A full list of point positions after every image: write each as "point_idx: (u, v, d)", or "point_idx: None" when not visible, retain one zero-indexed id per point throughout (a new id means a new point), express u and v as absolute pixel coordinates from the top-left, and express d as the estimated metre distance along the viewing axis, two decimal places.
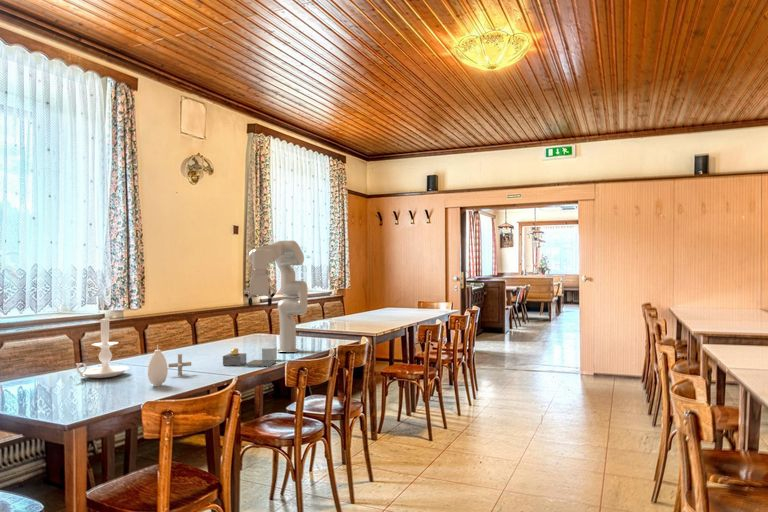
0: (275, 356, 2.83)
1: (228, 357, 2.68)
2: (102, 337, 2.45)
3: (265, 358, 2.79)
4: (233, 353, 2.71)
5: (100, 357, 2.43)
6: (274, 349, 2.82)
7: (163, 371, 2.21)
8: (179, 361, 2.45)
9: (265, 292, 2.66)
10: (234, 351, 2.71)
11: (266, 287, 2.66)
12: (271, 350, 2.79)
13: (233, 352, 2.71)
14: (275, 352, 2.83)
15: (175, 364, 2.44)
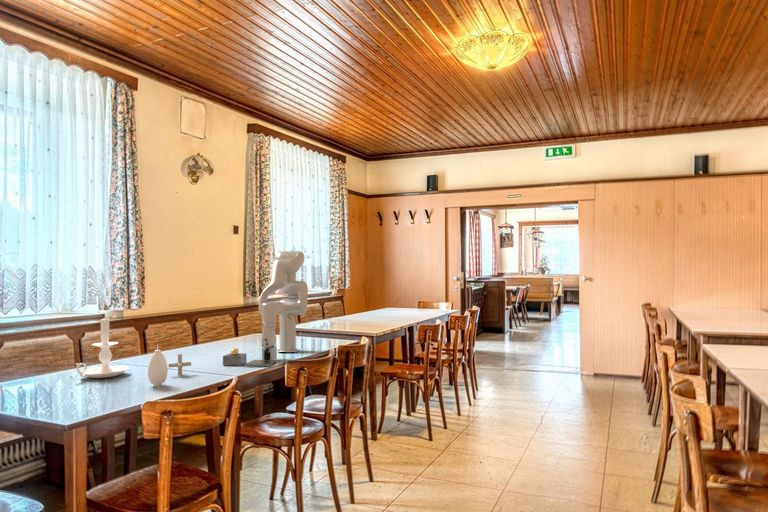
0: (275, 356, 2.83)
1: (228, 357, 2.68)
2: (102, 337, 2.45)
3: None
4: (233, 353, 2.71)
5: (100, 357, 2.43)
6: (274, 349, 2.82)
7: (163, 371, 2.21)
8: (179, 361, 2.45)
9: (275, 342, 2.85)
10: (234, 351, 2.71)
11: (275, 338, 2.86)
12: (271, 350, 2.79)
13: (233, 352, 2.71)
14: (275, 352, 2.83)
15: (175, 364, 2.44)
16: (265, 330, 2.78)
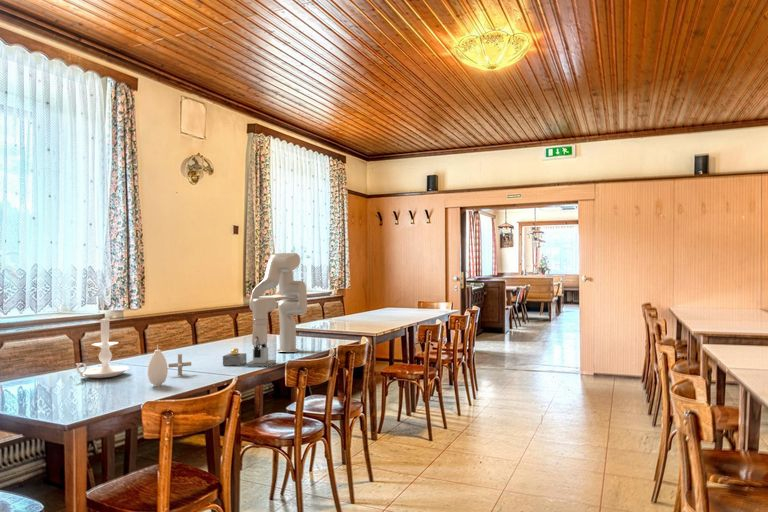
0: (267, 357, 2.71)
1: (228, 357, 2.68)
2: (102, 337, 2.45)
3: (256, 359, 2.67)
4: (233, 353, 2.71)
5: (100, 357, 2.43)
6: (265, 350, 2.69)
7: (163, 371, 2.21)
8: (179, 361, 2.45)
9: (266, 340, 2.73)
10: (234, 351, 2.71)
11: None
12: (262, 351, 2.66)
13: (233, 352, 2.71)
14: (267, 353, 2.70)
15: (175, 364, 2.44)
16: (256, 327, 2.65)
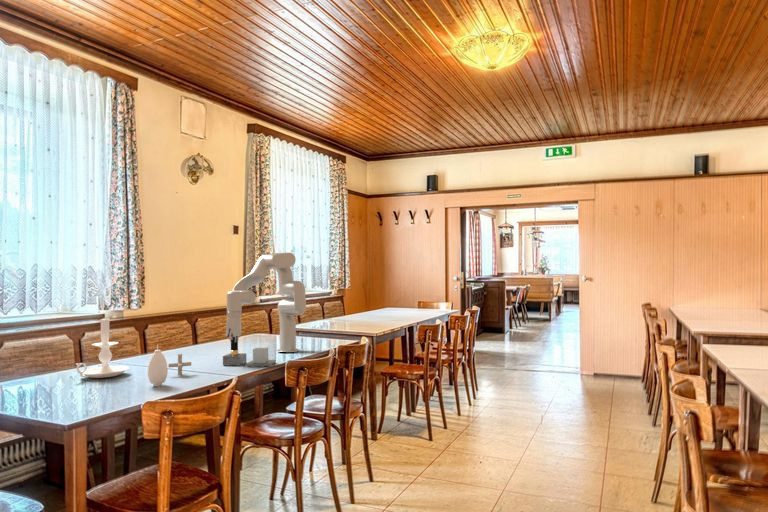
0: (267, 357, 2.71)
1: (228, 357, 2.68)
2: (102, 337, 2.45)
3: (256, 359, 2.67)
4: (233, 354, 2.71)
5: (100, 357, 2.43)
6: (265, 350, 2.69)
7: (163, 371, 2.21)
8: (179, 361, 2.45)
9: (240, 333, 2.76)
10: (234, 352, 2.71)
11: (241, 328, 2.76)
12: (262, 351, 2.66)
13: (233, 353, 2.71)
14: (267, 353, 2.70)
15: (175, 364, 2.44)
16: (229, 319, 2.68)
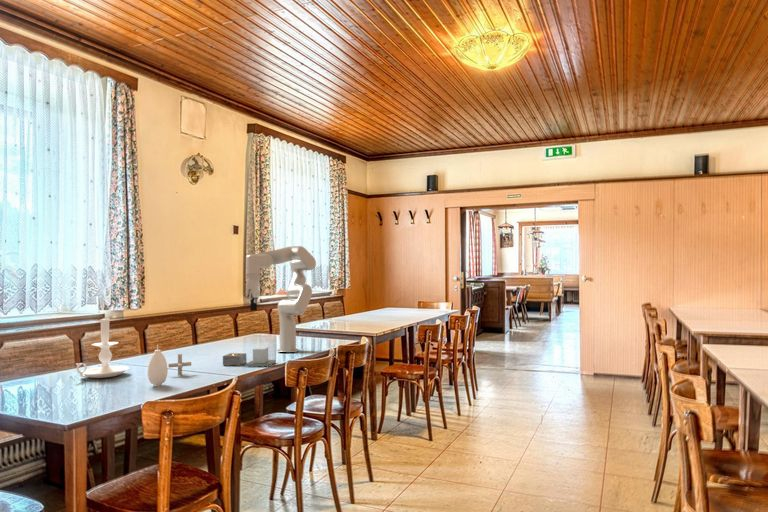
0: (267, 357, 2.71)
1: (228, 357, 2.68)
2: (102, 337, 2.45)
3: (256, 359, 2.67)
4: None
5: (100, 357, 2.43)
6: (265, 350, 2.69)
7: (163, 371, 2.21)
8: (179, 361, 2.45)
9: (259, 294, 2.88)
10: None
11: (259, 290, 2.89)
12: (262, 351, 2.66)
13: None
14: (267, 353, 2.70)
15: (175, 364, 2.44)
16: (249, 281, 2.81)
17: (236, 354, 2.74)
